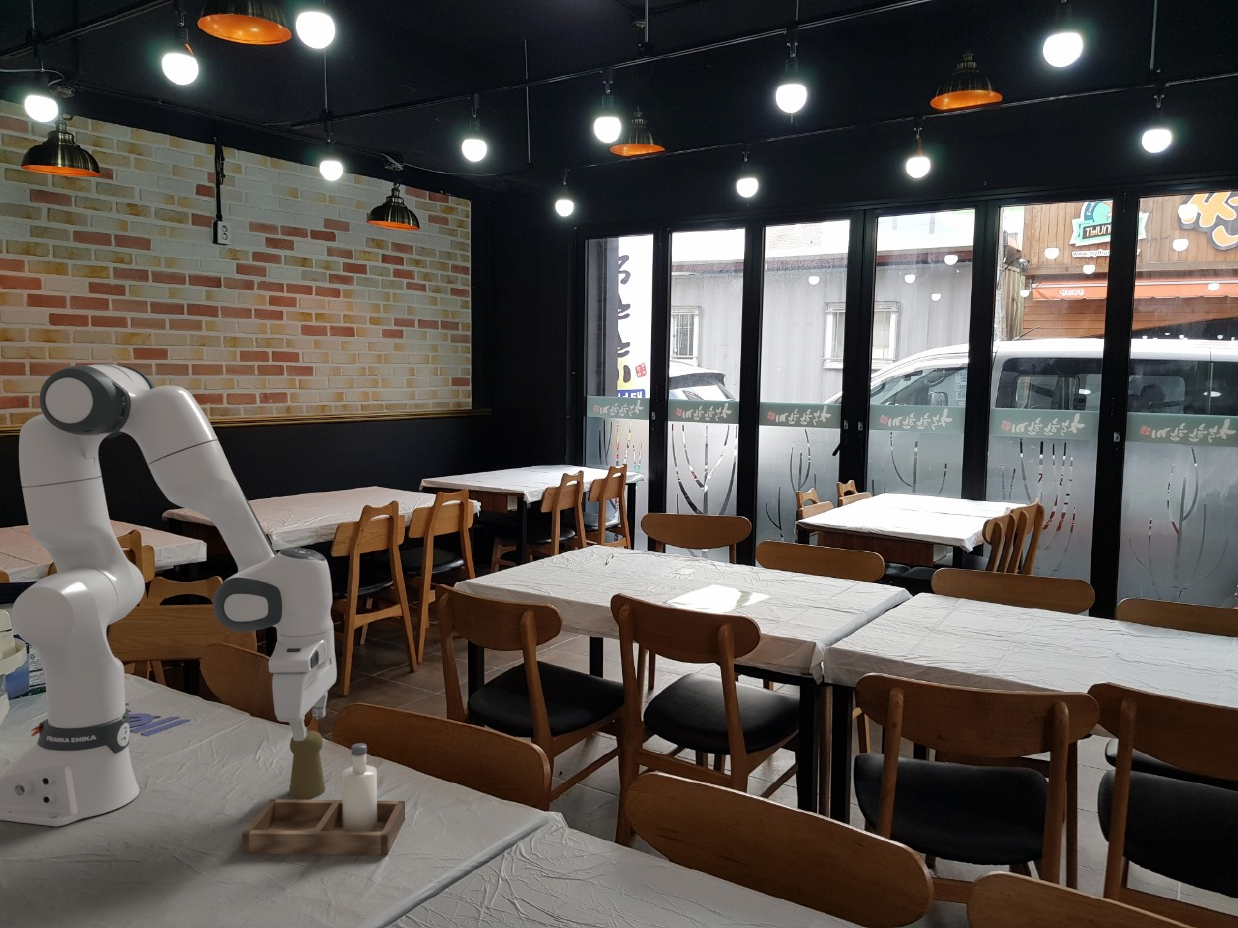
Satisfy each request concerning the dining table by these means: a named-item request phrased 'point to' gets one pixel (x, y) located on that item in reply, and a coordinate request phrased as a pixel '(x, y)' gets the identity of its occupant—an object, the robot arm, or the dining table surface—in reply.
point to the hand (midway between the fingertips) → (309, 728)
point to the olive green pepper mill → (307, 767)
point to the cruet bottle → (359, 793)
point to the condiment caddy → (319, 829)
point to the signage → (147, 719)
